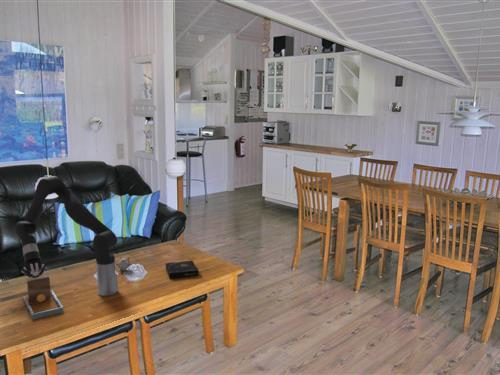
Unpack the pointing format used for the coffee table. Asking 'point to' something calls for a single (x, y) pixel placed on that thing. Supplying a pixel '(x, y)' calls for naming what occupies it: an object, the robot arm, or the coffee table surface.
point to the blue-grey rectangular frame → (46, 313)
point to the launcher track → (29, 305)
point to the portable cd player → (181, 269)
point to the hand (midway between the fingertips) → (37, 283)
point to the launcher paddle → (38, 287)
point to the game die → (124, 263)
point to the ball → (40, 298)
